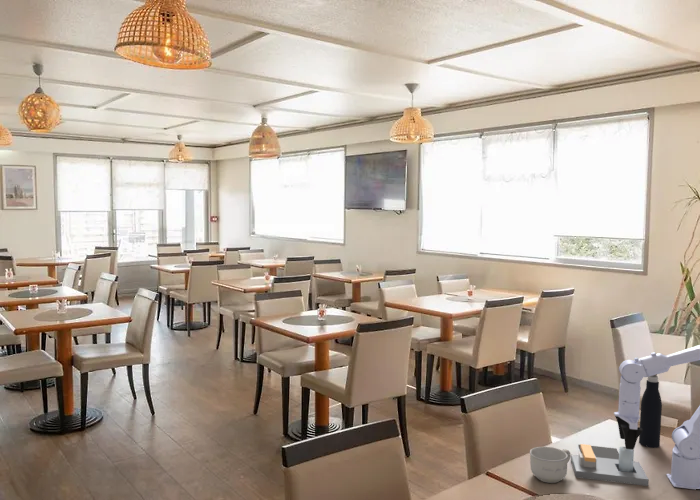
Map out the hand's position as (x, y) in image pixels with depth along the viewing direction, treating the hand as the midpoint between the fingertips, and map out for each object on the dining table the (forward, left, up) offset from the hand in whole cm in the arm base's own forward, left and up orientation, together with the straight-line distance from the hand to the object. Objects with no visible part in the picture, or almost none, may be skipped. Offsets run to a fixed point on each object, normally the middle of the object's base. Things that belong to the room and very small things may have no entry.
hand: (626, 443), depth 175 cm
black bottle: (-13, -27, -10) cm, 32 cm away
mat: (+5, -13, -10) cm, 17 cm away
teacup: (+22, +8, -10) cm, 25 cm away
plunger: (+11, 0, -7) cm, 13 cm away
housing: (+5, 0, -10) cm, 11 cm away
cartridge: (0, 0, -10) cm, 10 cm away
